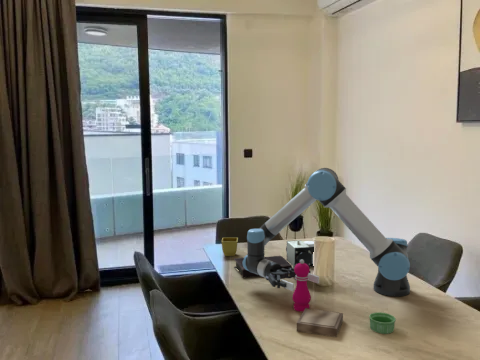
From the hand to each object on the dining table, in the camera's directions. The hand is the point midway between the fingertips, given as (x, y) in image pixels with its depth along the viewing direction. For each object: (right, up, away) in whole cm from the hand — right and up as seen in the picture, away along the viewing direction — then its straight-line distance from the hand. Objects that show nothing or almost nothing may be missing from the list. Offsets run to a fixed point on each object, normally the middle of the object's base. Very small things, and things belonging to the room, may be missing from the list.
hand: (306, 283), depth 180 cm
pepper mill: (-1, -11, +3) cm, 11 cm away
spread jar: (+12, -4, +60) cm, 61 cm away
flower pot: (-31, -2, +79) cm, 85 cm away
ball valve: (+3, -6, +41) cm, 42 cm away
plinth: (+3, -12, -12) cm, 18 cm away
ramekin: (+25, -13, -15) cm, 32 cm away
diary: (-15, -5, +52) cm, 55 cm away
